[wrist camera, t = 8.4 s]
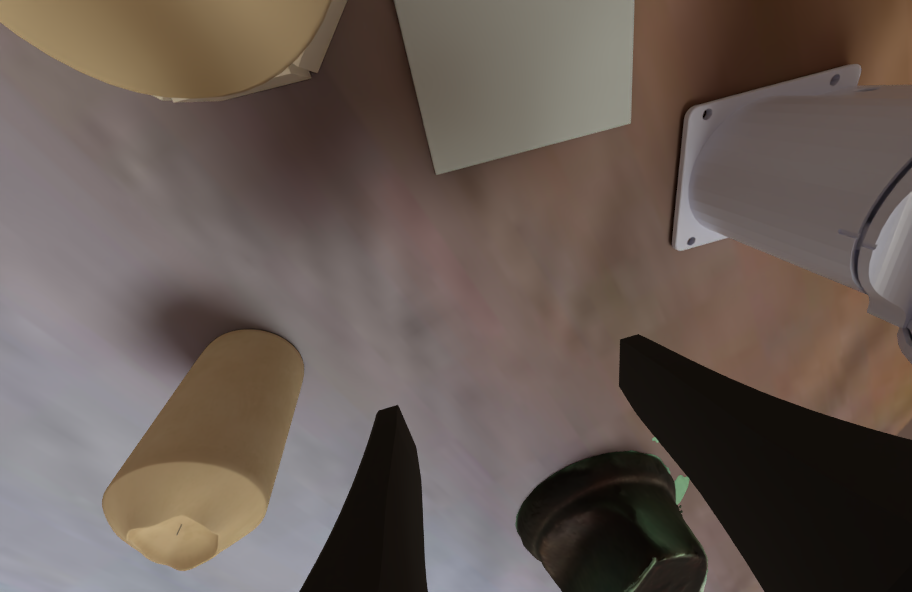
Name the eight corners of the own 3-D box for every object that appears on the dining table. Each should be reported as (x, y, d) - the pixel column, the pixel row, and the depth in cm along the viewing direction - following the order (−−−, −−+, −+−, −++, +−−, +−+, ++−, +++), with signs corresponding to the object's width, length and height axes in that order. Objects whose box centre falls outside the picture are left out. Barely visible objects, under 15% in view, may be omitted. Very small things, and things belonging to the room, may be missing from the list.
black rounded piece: (535, 428, 29) (594, 555, 21) (725, 433, 34) (830, 537, 26) (474, 563, 38) (498, 690, 30) (632, 551, 43) (690, 656, 35)
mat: (633, -173, 13) (639, -180, 13) (626, 122, 18) (630, 123, 18) (366, -112, 13) (366, -118, 12) (435, 173, 18) (436, 174, 17)
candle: (179, 349, 20) (26, 541, 11) (272, 313, 20) (188, 479, 11) (241, 412, 23) (154, 606, 14) (322, 381, 23) (285, 556, 14)
